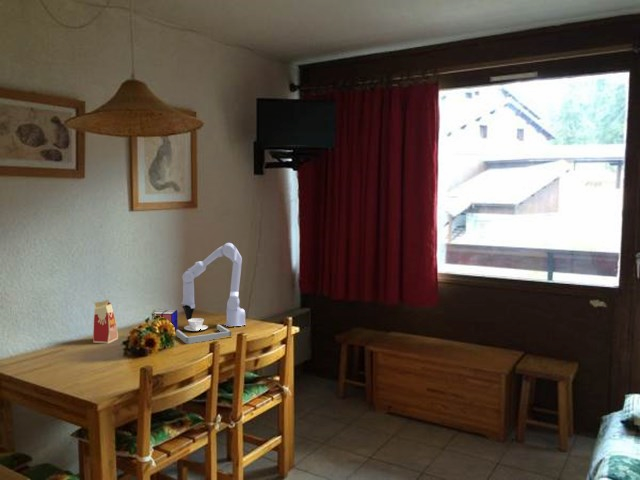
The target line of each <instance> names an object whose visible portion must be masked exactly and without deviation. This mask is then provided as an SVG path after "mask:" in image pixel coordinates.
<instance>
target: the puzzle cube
mask: <svg viewBox="0 0 640 480" xmlns="http://www.w3.org/2000/svg"><path fill="white" fill-rule="evenodd" d="M154 313H155V314H156V315H158V316H161V317H164V318H166V319H168V320H169V321H170V322H171V323H172V324H173V325H174V327H175V329H176V330H178V323H179V322H178V310H177V309H165V308H164V309H160V308H159V309H157V310H156V311H155V312H153V313H152V314H151V315H152V318H151V319H153V315H154Z"/></svg>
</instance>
